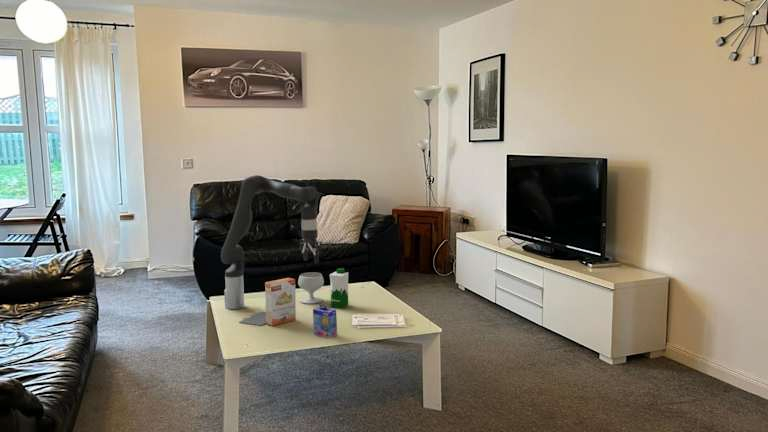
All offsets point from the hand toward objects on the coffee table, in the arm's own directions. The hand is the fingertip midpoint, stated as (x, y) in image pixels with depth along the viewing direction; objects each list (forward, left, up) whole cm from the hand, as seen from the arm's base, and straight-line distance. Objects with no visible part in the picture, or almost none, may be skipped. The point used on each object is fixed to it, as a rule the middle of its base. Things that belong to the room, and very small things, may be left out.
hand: (311, 261), depth 276 cm
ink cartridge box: (+15, -14, -30) cm, 37 cm away
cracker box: (-14, -6, -30) cm, 34 cm away
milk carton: (0, +28, -30) cm, 41 cm away
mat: (-26, -6, -30) cm, 40 cm away
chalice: (-19, +31, -30) cm, 47 cm away
